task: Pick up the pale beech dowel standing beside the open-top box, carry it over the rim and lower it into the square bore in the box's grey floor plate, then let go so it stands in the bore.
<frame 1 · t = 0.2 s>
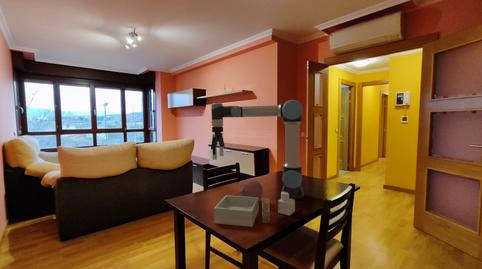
hand: (218, 157, 153), 28 cm above the table, fingers open, 13 cm apart
dowel: (266, 221, 118), on the table
medicine bottle: (286, 212, 129), on the table
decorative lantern: (248, 203, 144), on the table
box: (237, 216, 125), on the table
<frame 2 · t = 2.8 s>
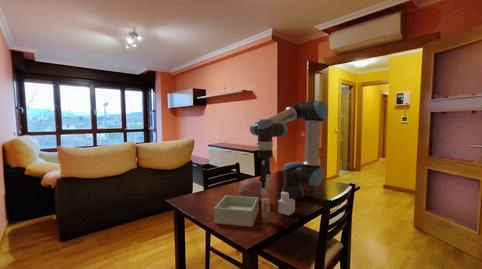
hand: (265, 190, 117), 17 cm above the table, fingers open, 13 cm apart
nothing on the table moved.
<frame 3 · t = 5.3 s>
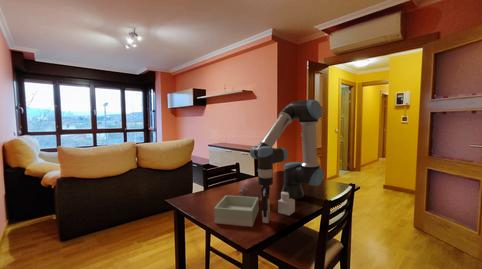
hand: (266, 220, 118), 1 cm above the table, fingers closed on dowel, 4 cm apart
dowel: (266, 221, 118), on the table, touching gripper
everything else where it was.
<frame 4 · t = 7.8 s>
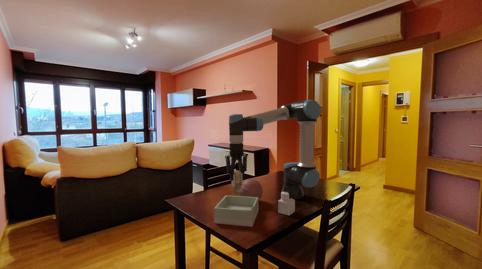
hand: (237, 185, 123), 18 cm above the table, fingers closed on dowel, 4 cm apart
dowel: (237, 192, 124), point 13 cm above the table, touching gripper
everything else where it was.
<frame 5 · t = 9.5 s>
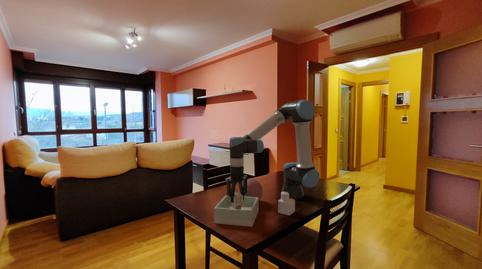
hand: (237, 207, 124), 5 cm above the table, fingers closed on dowel, 4 cm apart
dowel: (237, 214, 125), point 1 cm above the table, touching gripper
everything else where it was.
when the fingers open (4 cm above the table, at t = 10.4 s): dowel stays where it is, resting in box.
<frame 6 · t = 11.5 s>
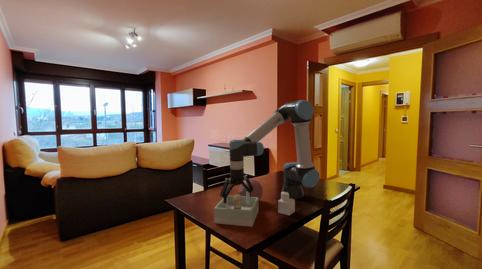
hand: (237, 206, 124), 6 cm above the table, fingers open, 13 cm apart
dowel: (237, 216, 125), resting in box
everything else where it was.
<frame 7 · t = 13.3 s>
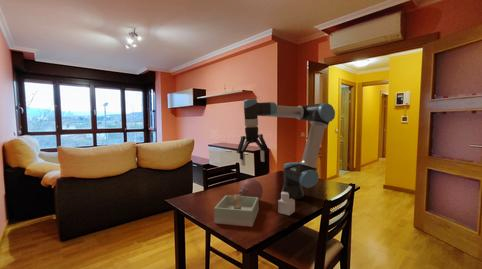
hand: (253, 163, 130), 28 cm above the table, fingers open, 13 cm apart
nothing on the table moved.
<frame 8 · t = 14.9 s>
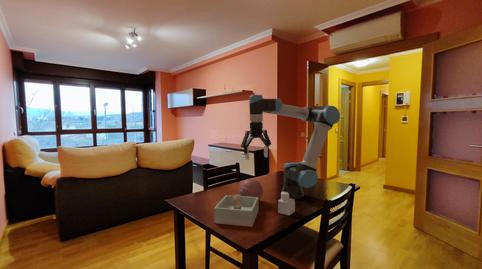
hand: (256, 158, 132), 31 cm above the table, fingers open, 13 cm apart
nothing on the table moved.
at the end: dowel 0.1 cm off-centre on the box, point 0.0 cm above the box's base; dowel tilted 0°; the gripper is holding nothing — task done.
